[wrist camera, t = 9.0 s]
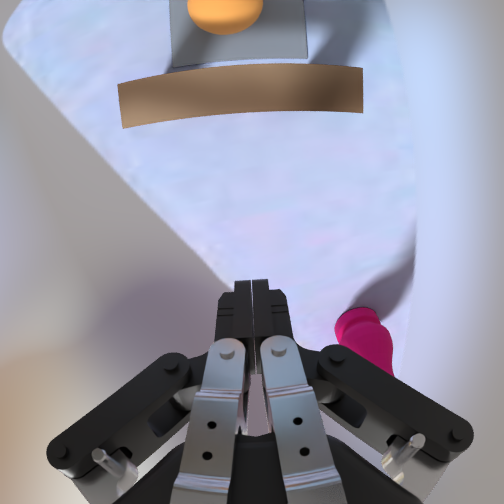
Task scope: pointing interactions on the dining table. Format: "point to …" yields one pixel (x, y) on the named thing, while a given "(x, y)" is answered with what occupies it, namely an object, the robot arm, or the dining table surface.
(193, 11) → the ball
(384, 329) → the pepper mill
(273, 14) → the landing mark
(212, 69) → the bridge
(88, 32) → the dining table surface
